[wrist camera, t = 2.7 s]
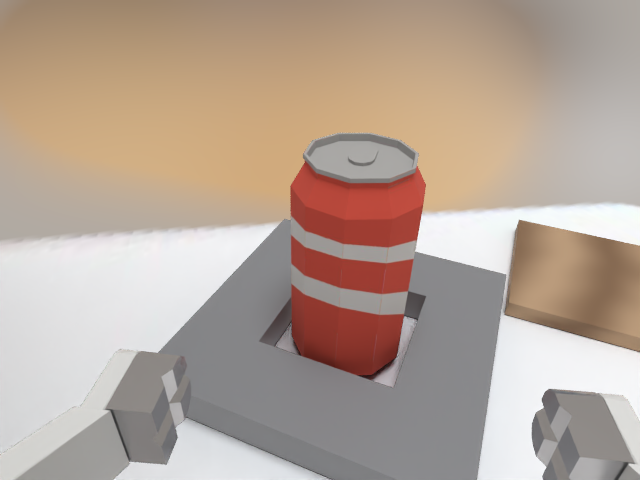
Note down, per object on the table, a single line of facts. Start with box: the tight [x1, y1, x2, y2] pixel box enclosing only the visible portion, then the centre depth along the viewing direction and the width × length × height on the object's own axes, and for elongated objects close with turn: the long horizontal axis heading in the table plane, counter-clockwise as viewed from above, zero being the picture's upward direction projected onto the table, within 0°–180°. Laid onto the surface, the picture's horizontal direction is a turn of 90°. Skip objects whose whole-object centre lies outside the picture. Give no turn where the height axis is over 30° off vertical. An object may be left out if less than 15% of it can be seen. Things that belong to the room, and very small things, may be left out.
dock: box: [158, 219, 506, 480], centre depth 27 cm, size 16×16×2 cm
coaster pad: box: [505, 220, 640, 352], centre depth 32 cm, size 11×11×1 cm
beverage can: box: [291, 133, 426, 375], centre depth 24 cm, size 6×6×12 cm
